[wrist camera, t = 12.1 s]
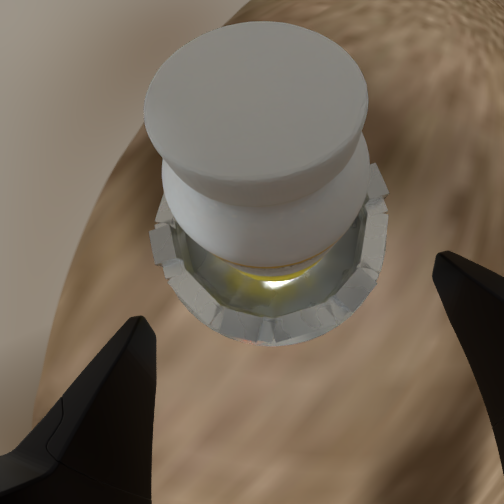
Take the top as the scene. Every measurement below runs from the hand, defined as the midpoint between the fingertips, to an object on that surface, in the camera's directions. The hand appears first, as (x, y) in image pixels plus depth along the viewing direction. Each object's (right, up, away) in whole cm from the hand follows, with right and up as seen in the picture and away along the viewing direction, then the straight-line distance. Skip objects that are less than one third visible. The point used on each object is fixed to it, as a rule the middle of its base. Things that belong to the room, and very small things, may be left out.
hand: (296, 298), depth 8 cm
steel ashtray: (0, +3, +9) cm, 9 cm away
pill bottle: (0, +3, +9) cm, 9 cm away
